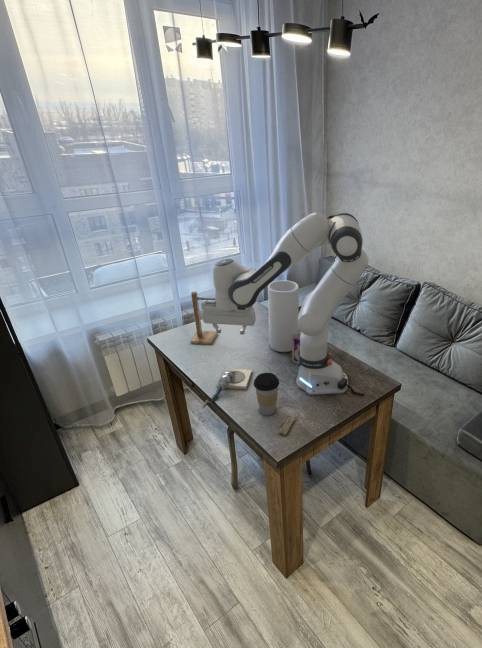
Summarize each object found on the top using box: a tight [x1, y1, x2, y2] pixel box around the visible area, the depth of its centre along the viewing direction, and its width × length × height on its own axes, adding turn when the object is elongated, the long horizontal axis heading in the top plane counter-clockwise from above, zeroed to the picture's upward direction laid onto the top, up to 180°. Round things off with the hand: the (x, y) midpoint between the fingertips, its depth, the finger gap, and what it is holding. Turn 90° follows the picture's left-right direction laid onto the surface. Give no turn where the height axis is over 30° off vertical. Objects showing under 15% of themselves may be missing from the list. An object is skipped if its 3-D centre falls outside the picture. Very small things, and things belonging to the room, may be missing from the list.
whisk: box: [201, 371, 233, 410], centre depth 159 cm, size 4×6×21 cm
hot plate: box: [216, 368, 253, 390], centre depth 169 cm, size 12×12×2 cm
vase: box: [267, 279, 300, 353], centre depth 187 cm, size 14×14×32 cm
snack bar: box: [278, 416, 297, 436], centre depth 146 cm, size 10×2×3 cm
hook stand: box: [190, 291, 218, 345], centre depth 191 cm, size 15×10×25 cm, turn 88°
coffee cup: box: [253, 372, 280, 416], centre depth 150 cm, size 9×9×15 cm
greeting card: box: [291, 333, 301, 365], centre depth 179 cm, size 11×7×15 cm, turn 66°
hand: (230, 333), depth 158 cm, fingers open, 8 cm apart
